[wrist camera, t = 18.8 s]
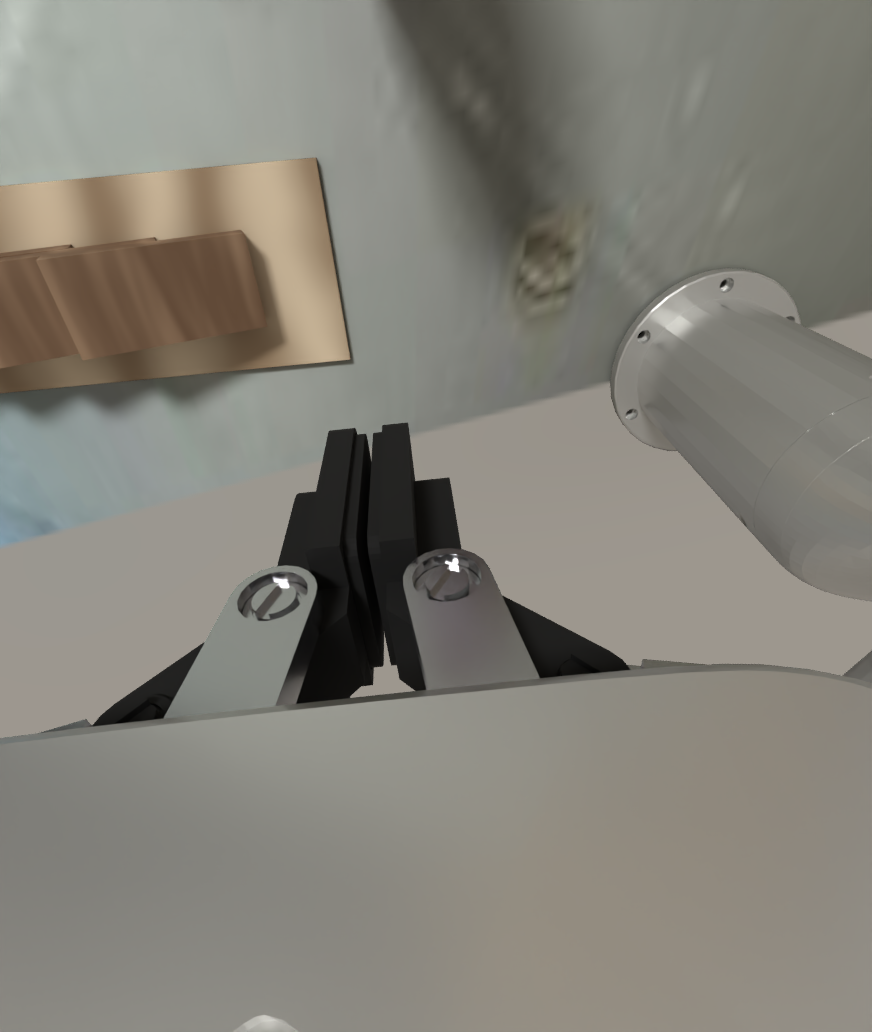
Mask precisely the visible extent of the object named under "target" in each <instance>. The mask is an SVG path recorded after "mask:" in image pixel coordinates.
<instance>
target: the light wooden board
mask: <svg viewBox="0 0 872 1032" xmlns="http://www.w3.org/2000/svg"><path fill="white" fill-rule="evenodd" d="M235 230H241V231H242V232H244V234H245V238H246V242H247V246H248V250H249V254H250V258H251V262H252V266H253V270H254V274H255V278H256V282H257V286H258V290H259V294H260V298H261V302H262V306H263V310H264V314H265V319H266V323H267V327H263V328H257V329H252V330H246V331H241V332H235V333H230V334H225V335H219V336H214V337H208V338H203V339H197V340H192V341H186V342H181V343H175V344H170V345H164V346H159V347H153V348H148V349H143V350H137V351H132V352H126V353H121V354H115V355H110V356H104V357H99V358H93V359H88V360H82V358H81V356H80V354H76V355H70V356H65V357H60V358H54V359H49V360H43V361H38V362H33V363H27V364H22V365H17V366H11V367H6V368H0V393H9V392H19V391H30V390H40V389H50V388H61V387H71V386H81V385H92V384H102V383H112V382H123V381H133V380H143V379H154V378H164V377H174V376H185V375H195V374H205V373H216V372H226V371H236V370H247V369H257V368H267V367H278V366H288V365H298V364H309V363H319V362H330V361H340V360H350V352H349V346H348V340H347V334H346V328H345V322H344V316H343V311H342V305H341V299H340V293H339V287H338V281H337V275H336V270H335V264H334V258H333V252H332V246H331V240H330V234H329V228H328V223H327V217H326V211H325V205H324V199H323V193H322V187H321V182H320V176H319V170H318V164H317V158H307V159H296V160H285V161H273V162H262V163H251V164H240V165H229V166H218V167H207V168H196V169H185V170H174V171H163V172H152V173H140V174H129V175H118V176H107V177H96V178H85V179H74V180H63V181H52V182H41V183H30V184H18V185H7V186H0V253H5V252H13V251H21V250H29V249H37V248H45V247H53V246H61V245H69V244H71V245H72V248H77V247H84V246H92V245H99V244H107V243H114V242H122V241H129V240H137V239H144V238H152V237H155V239H156V241H157V240H165V239H172V238H180V237H188V236H196V235H204V234H211V233H219V232H227V231H235Z"/></svg>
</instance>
